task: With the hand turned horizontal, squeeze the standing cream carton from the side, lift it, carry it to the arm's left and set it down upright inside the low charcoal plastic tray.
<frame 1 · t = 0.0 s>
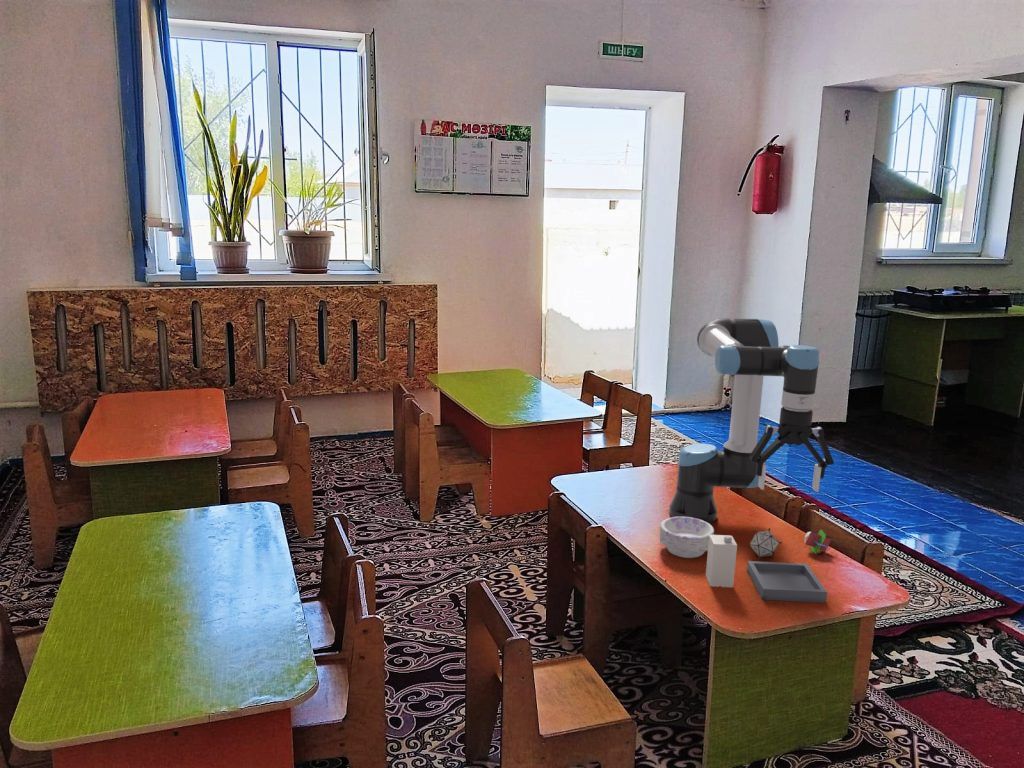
hand: (788, 489, 195), 28 cm above the table, tool pointing down, fingers open, 13 cm apart
carton: (719, 581, 205), on the table
white round bowl: (685, 552, 223), on the table
geometric puzzle: (817, 552, 225), on the table
tray: (784, 586, 203), on the table
game die: (762, 557, 221), on the table
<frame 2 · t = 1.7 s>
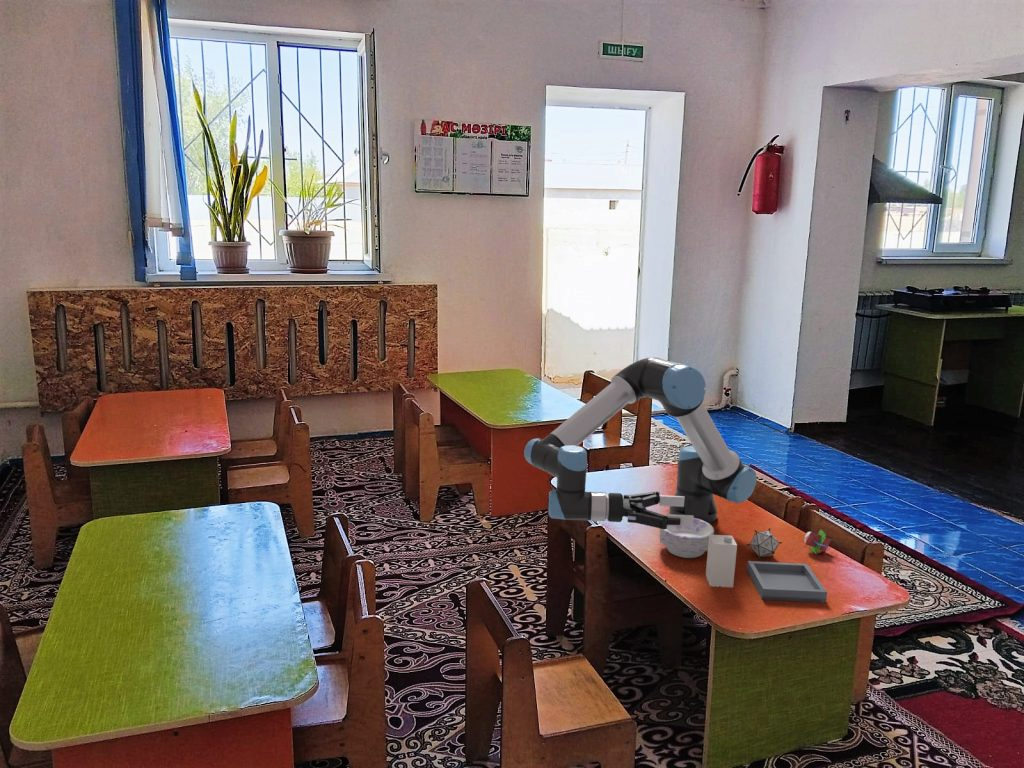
hand: (688, 511, 201), 20 cm above the table, tool horizontal, fingers open, 13 cm apart
nothing on the table moved.
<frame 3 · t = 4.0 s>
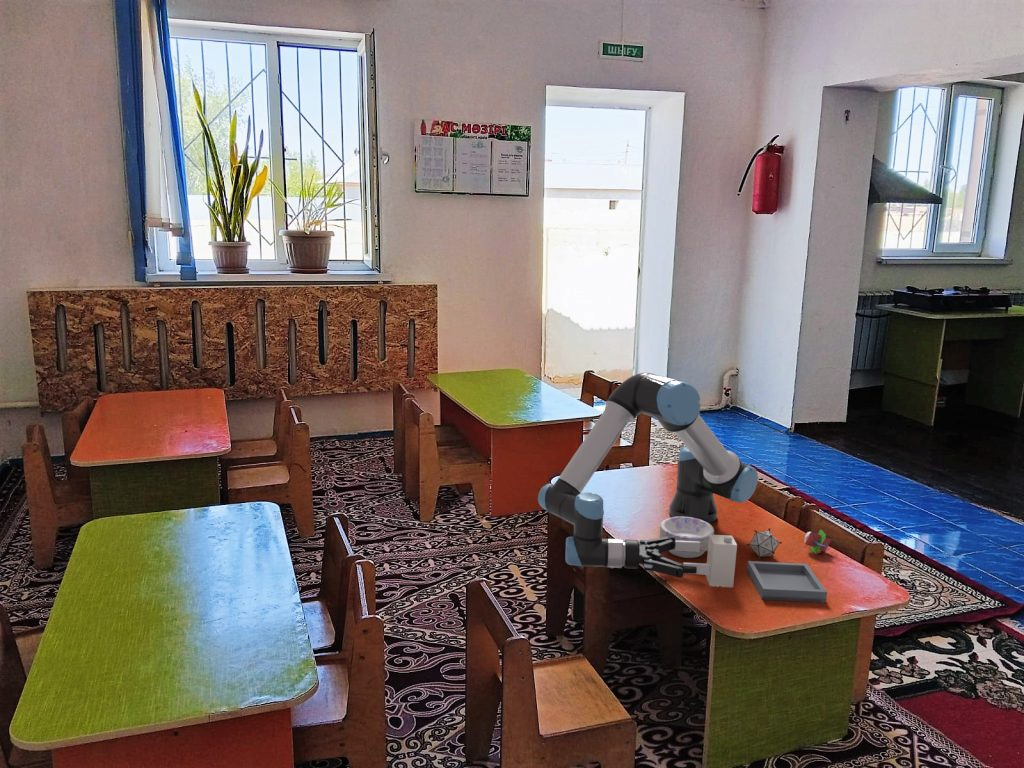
hand: (704, 557, 203), 7 cm above the table, tool horizontal, fingers open, 13 cm apart
nothing on the table moved.
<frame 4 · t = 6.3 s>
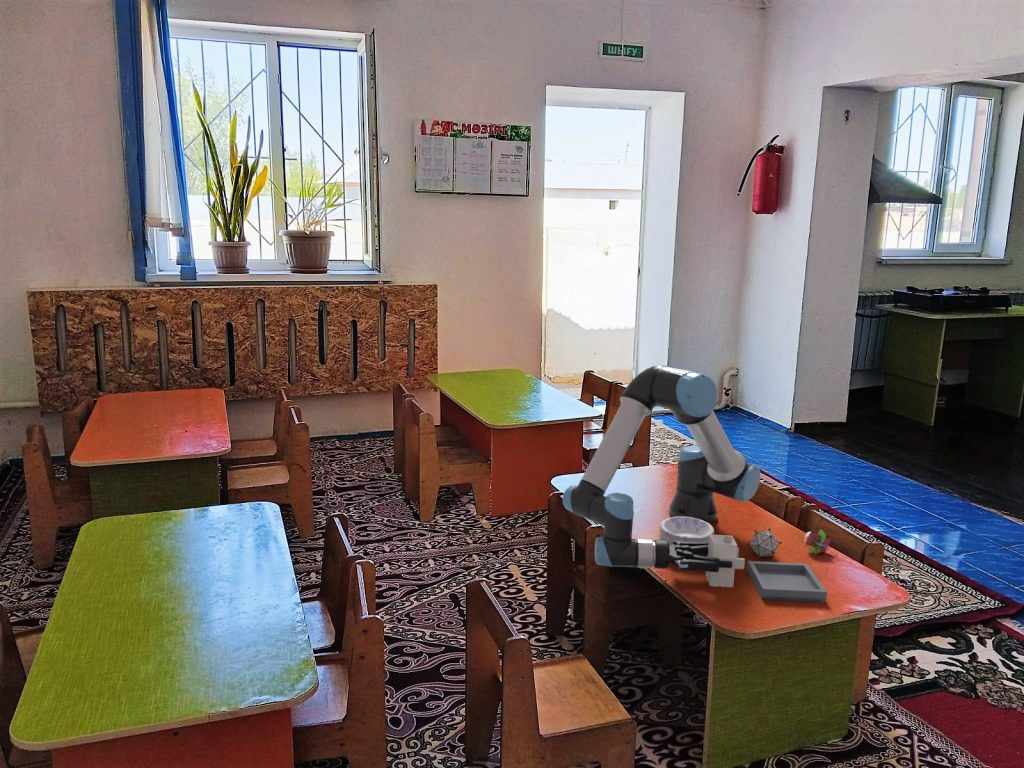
hand: (740, 557, 203), 7 cm above the table, tool horizontal, fingers closed on carton, 6 cm apart
carton: (719, 581, 205), on the table, touching gripper
everything else where it was.
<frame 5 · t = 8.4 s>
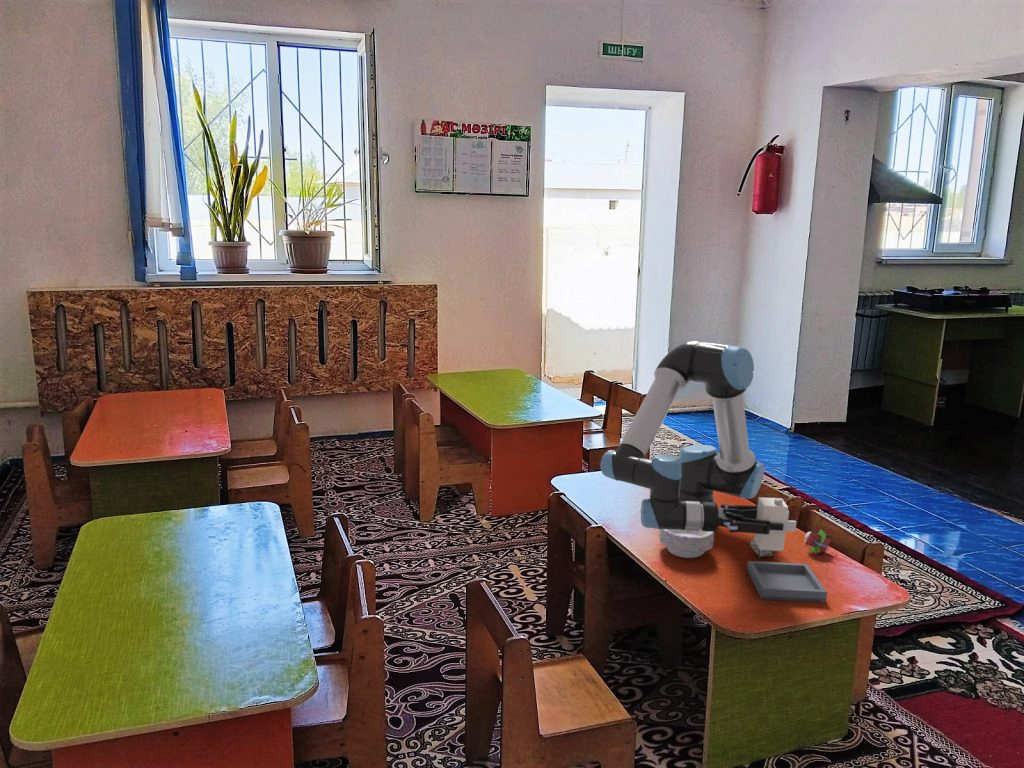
hand: (791, 521, 198), 19 cm above the table, tool horizontal, fingers closed on carton, 6 cm apart
carton: (768, 545, 200), point 12 cm above the table, touching gripper
everything else where it was.
when the fingers open (9 cm above the table, at t = 10.9 s): carton drops 1 cm, resting on tray.
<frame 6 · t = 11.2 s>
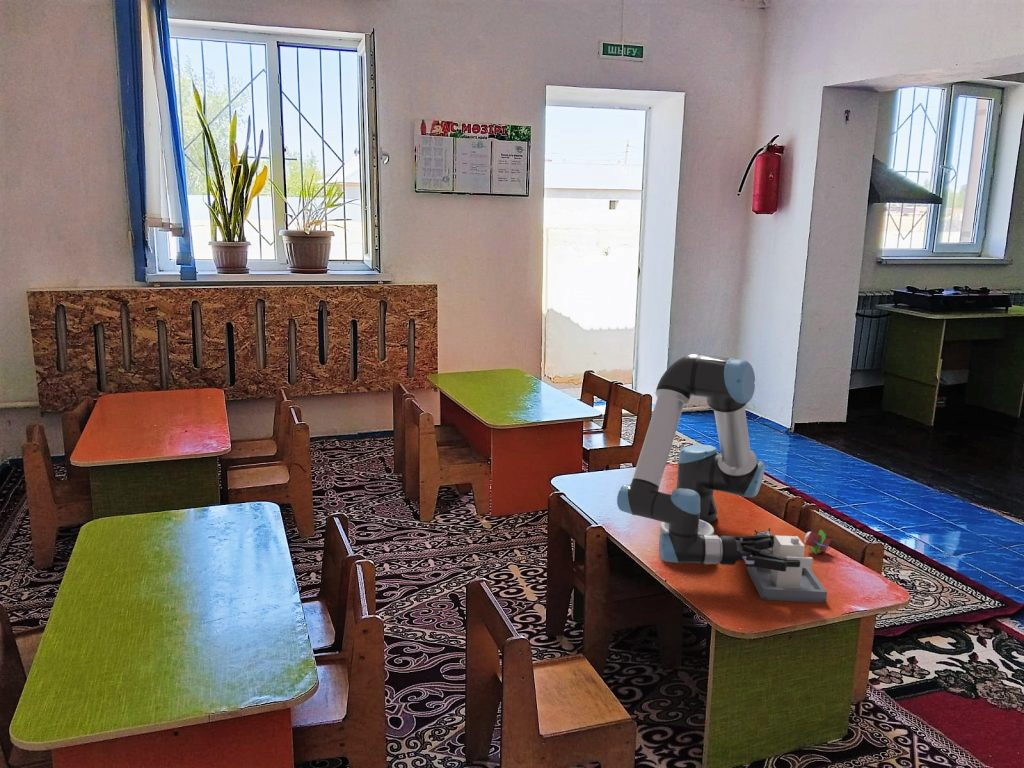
hand: (805, 553, 201), 9 cm above the table, tool horizontal, fingers open, 10 cm apart
carton: (784, 582, 203), point 1 cm above the table, touching tray
everything else where it was.
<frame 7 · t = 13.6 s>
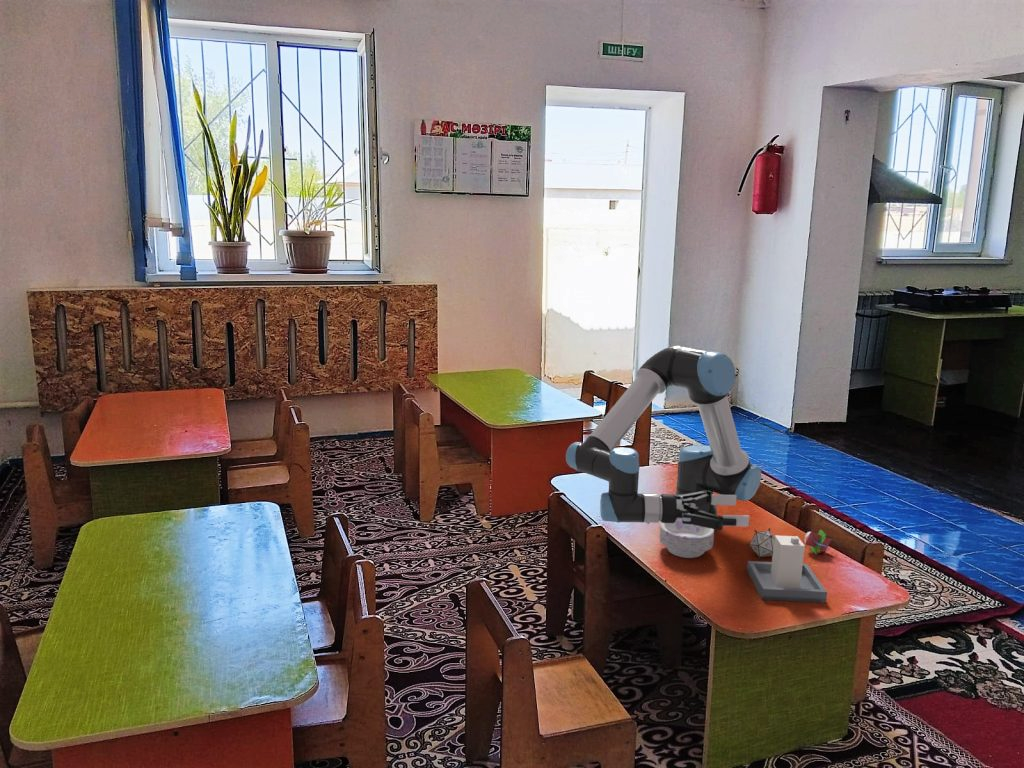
hand: (742, 510, 200), 21 cm above the table, tool horizontal, fingers open, 13 cm apart
nothing on the table moved.
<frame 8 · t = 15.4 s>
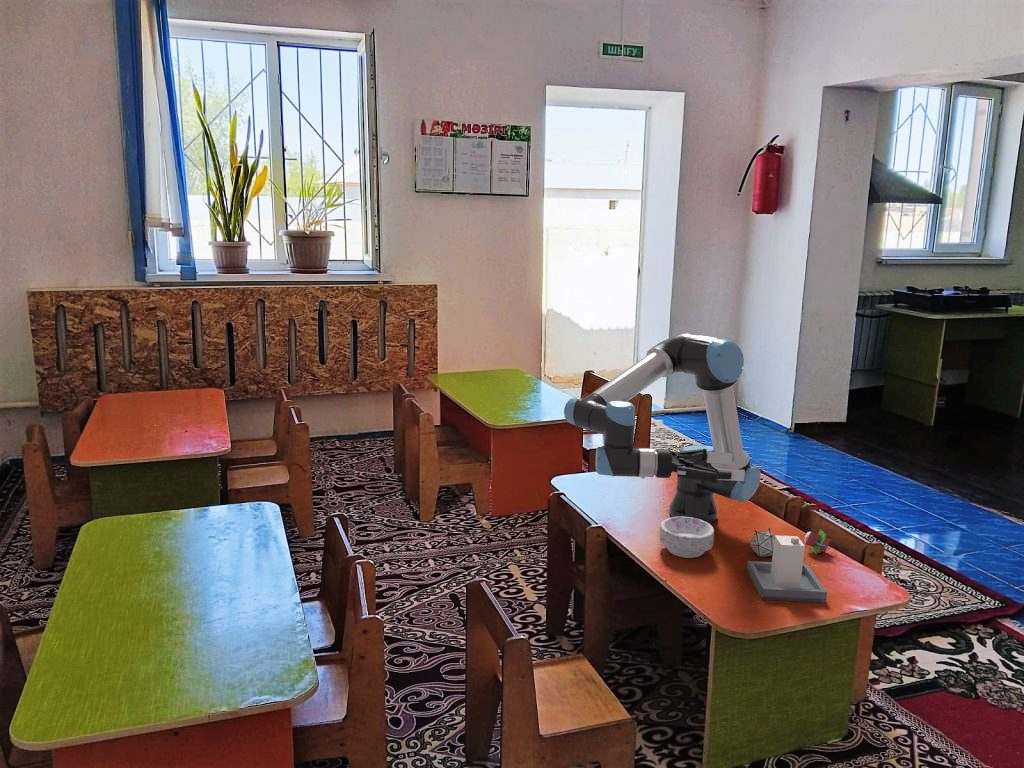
hand: (737, 466, 199), 32 cm above the table, tool horizontal, fingers open, 13 cm apart
nothing on the table moved.
at the end: carton inside the target area on the tray (0.1 cm from its centre), point 1.0 cm above the tray's base; carton tilted 0°; the gripper is holding nothing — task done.
